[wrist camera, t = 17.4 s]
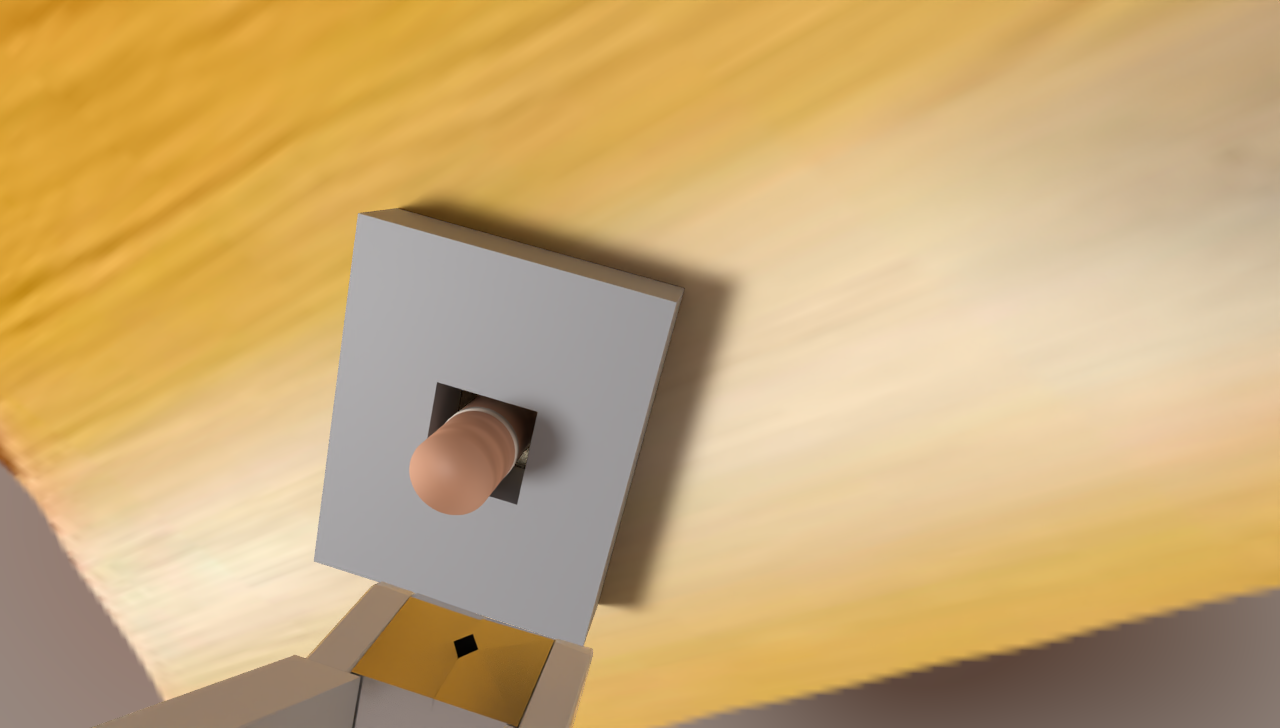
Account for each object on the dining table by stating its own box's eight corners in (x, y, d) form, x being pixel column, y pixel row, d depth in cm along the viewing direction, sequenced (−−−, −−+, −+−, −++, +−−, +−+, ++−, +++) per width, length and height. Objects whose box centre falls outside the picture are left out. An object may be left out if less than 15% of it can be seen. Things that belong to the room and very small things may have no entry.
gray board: (684, 288, 37) (676, 302, 33) (597, 604, 43) (582, 647, 39) (397, 208, 38) (358, 213, 35) (351, 527, 44) (313, 561, 40)
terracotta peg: (548, 395, 40) (500, 449, 32) (532, 460, 41) (483, 527, 34) (478, 374, 40) (416, 423, 33) (465, 439, 41) (401, 500, 34)
